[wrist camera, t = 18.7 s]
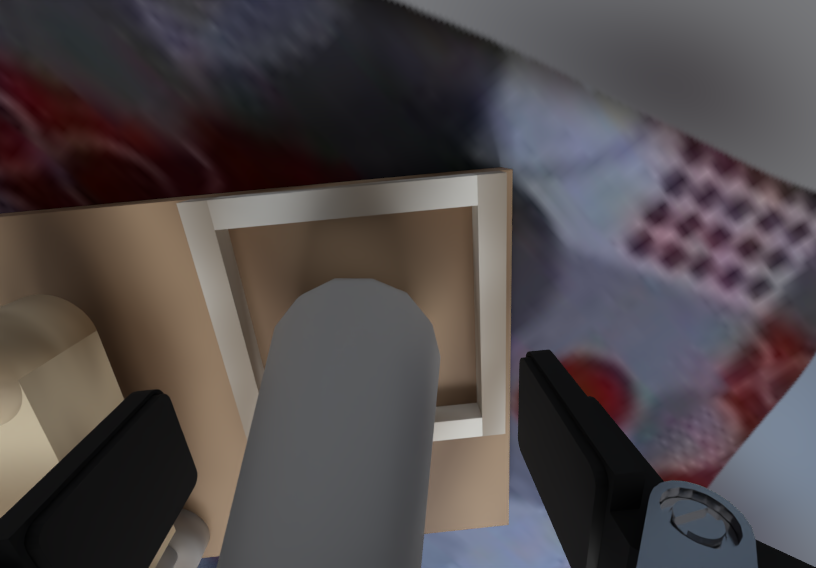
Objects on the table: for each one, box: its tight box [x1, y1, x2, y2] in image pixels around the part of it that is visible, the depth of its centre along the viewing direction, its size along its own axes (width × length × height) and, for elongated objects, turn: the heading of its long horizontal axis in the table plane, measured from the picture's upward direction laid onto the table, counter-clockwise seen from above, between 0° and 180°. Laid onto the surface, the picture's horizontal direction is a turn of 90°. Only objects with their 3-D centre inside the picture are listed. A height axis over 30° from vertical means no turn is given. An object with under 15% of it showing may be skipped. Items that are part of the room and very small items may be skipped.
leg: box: [0, 294, 176, 568], centre depth 13 cm, size 12×3×3 cm, turn 3°
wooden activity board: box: [0, 167, 512, 568], centre depth 15 cm, size 20×18×6 cm
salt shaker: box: [217, 278, 441, 568], centre depth 9 cm, size 6×6×13 cm
